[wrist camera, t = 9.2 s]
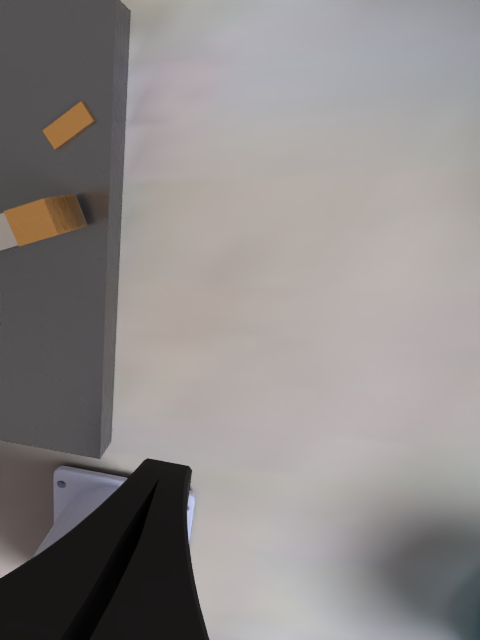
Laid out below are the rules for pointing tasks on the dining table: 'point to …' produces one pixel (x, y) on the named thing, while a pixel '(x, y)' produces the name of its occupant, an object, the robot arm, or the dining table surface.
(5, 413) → the grey flat square slab
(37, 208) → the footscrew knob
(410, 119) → the dining table surface
